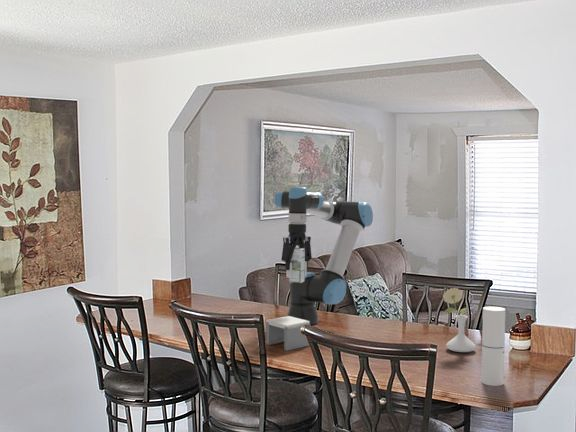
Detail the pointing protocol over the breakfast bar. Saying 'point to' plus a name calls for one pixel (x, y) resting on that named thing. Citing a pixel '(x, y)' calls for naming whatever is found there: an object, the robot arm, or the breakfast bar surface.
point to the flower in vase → (460, 341)
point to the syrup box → (298, 265)
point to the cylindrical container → (493, 346)
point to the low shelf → (286, 332)
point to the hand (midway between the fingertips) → (296, 276)
